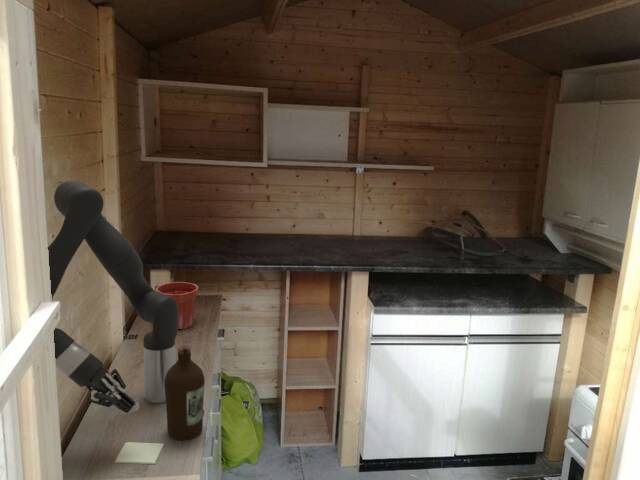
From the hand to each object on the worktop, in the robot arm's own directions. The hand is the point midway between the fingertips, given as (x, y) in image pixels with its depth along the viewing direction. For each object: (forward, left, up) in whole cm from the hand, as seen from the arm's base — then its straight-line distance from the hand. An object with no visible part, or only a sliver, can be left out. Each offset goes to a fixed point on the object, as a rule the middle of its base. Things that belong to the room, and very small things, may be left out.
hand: (131, 407), depth 137 cm
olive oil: (-10, +11, -12) cm, 19 cm away
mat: (+1, +2, -12) cm, 13 cm away
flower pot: (-85, -10, -13) cm, 86 cm away
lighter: (0, -6, -3) cm, 7 cm away
